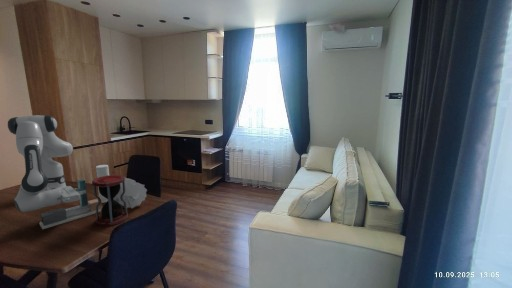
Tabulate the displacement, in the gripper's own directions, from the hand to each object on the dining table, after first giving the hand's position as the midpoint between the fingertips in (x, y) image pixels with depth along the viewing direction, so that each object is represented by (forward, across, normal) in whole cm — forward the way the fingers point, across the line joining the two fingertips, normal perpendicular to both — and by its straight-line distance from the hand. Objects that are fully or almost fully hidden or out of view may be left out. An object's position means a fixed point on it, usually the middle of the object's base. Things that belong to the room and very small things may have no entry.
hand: (84, 190), depth 144 cm
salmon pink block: (+4, 0, +14) cm, 14 cm away
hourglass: (+7, -20, +15) cm, 26 cm away
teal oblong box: (-5, 0, +13) cm, 14 cm away
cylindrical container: (+14, +12, +15) cm, 24 cm away
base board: (-7, 0, +15) cm, 16 cm away
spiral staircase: (+22, -5, +15) cm, 27 cm away
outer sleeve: (-16, 0, +14) cm, 21 cm away
